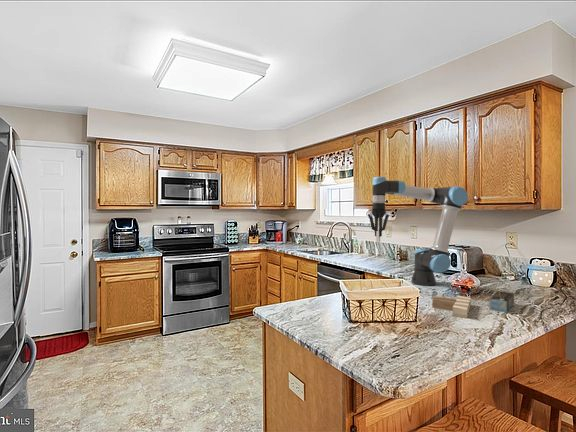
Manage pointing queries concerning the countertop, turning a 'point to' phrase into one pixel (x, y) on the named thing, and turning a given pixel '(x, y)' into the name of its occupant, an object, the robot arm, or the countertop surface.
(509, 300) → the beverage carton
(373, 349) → the countertop surface
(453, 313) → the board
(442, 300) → the block
